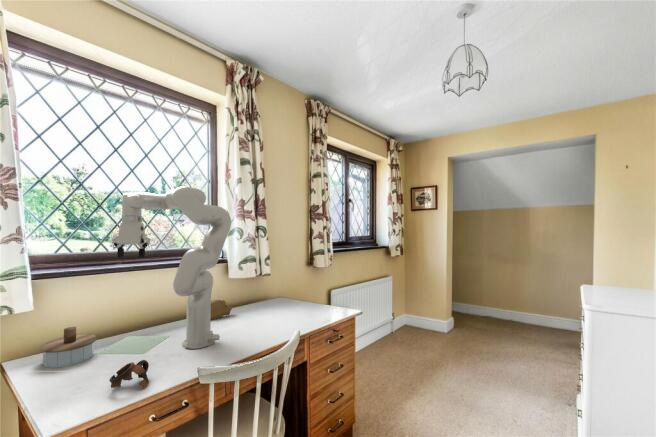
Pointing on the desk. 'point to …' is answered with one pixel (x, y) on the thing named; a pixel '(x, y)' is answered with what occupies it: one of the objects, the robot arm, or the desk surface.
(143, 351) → the sage mat
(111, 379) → the brown animal figurine
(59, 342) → the walnut lid
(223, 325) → the desk surface
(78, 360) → the slate bowl
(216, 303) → the wooden carving
